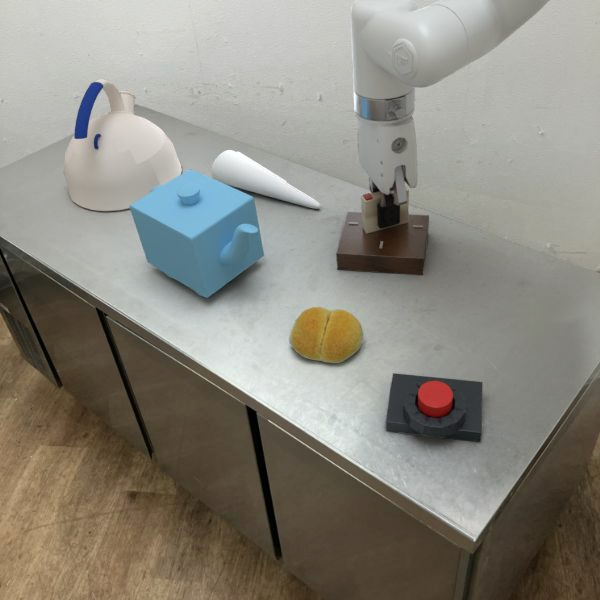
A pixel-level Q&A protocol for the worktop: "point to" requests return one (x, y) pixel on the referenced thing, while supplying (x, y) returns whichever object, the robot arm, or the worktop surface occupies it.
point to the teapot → (198, 231)
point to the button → (435, 399)
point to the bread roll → (326, 335)
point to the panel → (383, 246)
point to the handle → (370, 211)
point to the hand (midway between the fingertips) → (385, 220)
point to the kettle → (116, 153)
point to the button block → (410, 420)
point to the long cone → (256, 179)
